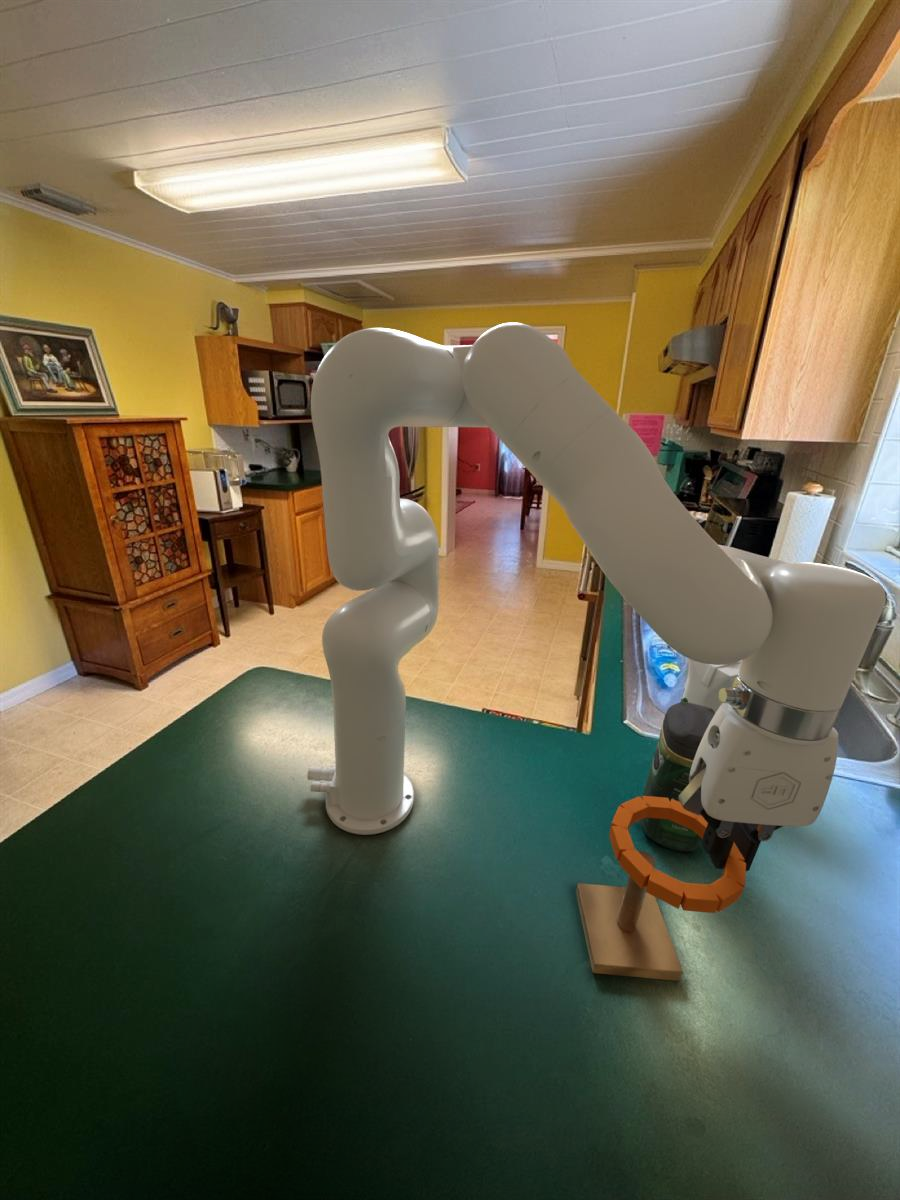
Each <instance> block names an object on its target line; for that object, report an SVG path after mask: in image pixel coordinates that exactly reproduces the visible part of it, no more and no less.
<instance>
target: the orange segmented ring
mask: <svg viewBox="0 0 900 1200" xmlns="http://www.w3.org/2000/svg"><path fill="white" fill-rule="evenodd" d="M616 809H617V810H616V812H615V814H614V817H613V819H612V821H611V825H610V829H609V832H608V833H609V836H608V837H609V841H610V844H611V847H612V850H613V853H614V856H615V860H616V862H618V865H619V866H620V867H621V868H622V869H623V870H624V872H625V873H626V874H627V875H628V877H629V876H630V877H631V878H632V879H633V880H634V881H635V882H636V883H637V884H638V885H639V887H640V888H641V889H642V888H644V887H646V886H647V887H646V892H647V893H649V894H651V895H653V896H654V897H655V898H656V899H658V900H660V901H661V902H664V903H666V904H667V905H670V906H671V907H674V908H675V909H677V910H679V909H680V906H681V909H682V911H685V912H697V913H709V914H716V912H718V913H721V912H722V911H724V910H725V909H726V908H728V907H730V906H732V905H733V904H734V903H736V902H737V901H740V900H739V899H740V898H741V896H742V894H743V892H744V889H745V886H746V875H747V871H746V863H745V862H744V860H745V859H744V858H743V856H742V854H741V853H740V851H739V849H738V848H737V846H736V844H735V843H733V846H732V849H731V851H730V854H729V857H728V858H727V861H726V863H725V866H724V868H723V869H722V876H721V877H720V878H718V879H716V880H714V881H713V882H711V883H710V884H706V883H694V882H693V883H692V882H683V881H681V880H679V879H677V878H674V877H672V876H670V875H668V874H666V873H664V872H663V871H661V870H659V869H657V868H655V867H653V866H652V865H651V864H650V863H649V862H648V861H647V860H646V859H645V858H644V857H643V856H642V855H641V854H640V853H639V852H638V851H639V850H637V849H636V848H635V845H634V842H633V840H632V836H631V834H630V832H629V830H630V827H631V825H633V824H635V823H636V822H639V821H641V819H644V818H646V817H647V818H659V819H669V820H671V821H673V822H676V823H678V824H680V825H682V826H685V827H687V828H689V829H692V830H693V831H694V832H695V833H696V834H698V835H699V836H700V837H701V840H702V839H703V836H704V833H705V830H706V827H707V824H708V823H707V821H706V820H705V819H704V818H703V816H700V815H696V814H694V813H691V812H689V811H686V810H684V808H683V807H682V805H681V803H680V802H678V801H676V800H673V799H671V802H670V801H669V799H668V798H665V797H652V796H643V795H642V796H639V795H638V796H636V797H634V798H632V799H629V800H626V801H625V802H622V803H621V804H620V805H618V807H617V808H616Z"/></svg>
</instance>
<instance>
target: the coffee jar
mask: <svg viewBox="0 0 900 1200" xmlns="http://www.w3.org/2000/svg"><path fill="white" fill-rule="evenodd" d="M714 715H715V712H714V711H713V709H712V708H709V707H705V706H702V705H697V704H693V703H688V702H683V701H682V702H681V701H679V702H677V703H674V704H672V705H671V706H669V707H668V708H667V710H666V712H665V714H664V718H663V720H662V723H661V729H660V732H659V738H658V742H657V745H656V748H655V749H656V750H655V752H654V756H653V759H652V761H651V762H652V763H651V766H650V769H649V773H648V776H647V780H646V783H645V786H644V788H643V793H642V796H652V797H665V798H668V799H669V801H670V802H671V799H673V800H676V801H678V802H680V801H679V799H678V796H679V795H680V794H681V792H682V791H683V790H684V789H685V788H686V787H687V785H688V784H689V775H690V771H691V767H692V763H693V760H694V758H695V755H696V752H697V750H698V747H699V745H700V742H701V740H702V738H703V736H704V733H705V731H706V729H707V728H708V726H709V724H710V722H711V720H712V718H713V717H714ZM640 823H641V827H642V830H643V832H644V834H645V835H646V836H647V837H648V838H649V839H651V840H652V841H653V842H655V843H657V844H658V845H660V846H663V847H665V848H667V849H670V850H674V851H678V852H693V851H695V850H696V849H698V848H699V846H700V844H701V842H702V838H701V837H700V836H699V835H698V834H696V833H695V832H694V831H693V830H692V829H689V828H687V827H685V826H682V825H680V824H678V823H676V822H673V821H671V820H669V819H659V818H647V817H646V818H644V819H641V820H640Z"/></svg>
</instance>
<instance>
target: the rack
mask: <svg viewBox="0 0 900 1200" xmlns="http://www.w3.org/2000/svg"><path fill="white" fill-rule="evenodd" d="M637 851H638V852H639V853H640V854H641V855H642V856H643V857H644V858H645V859H646V860H647V861H648V862H649V863H650V864H651V865H652V866H653V867H654V868H655V865H656V860H655V858H654V857H653V855H652V854H651V853H649V852H647V851H645V850H637ZM646 887H647V886H646ZM646 887H644V888H642V889H641V888H640V887H639V885H638V884H637V883H636V882H635V881H634V880H633V879H632V878H631V877H630V876H629V875H628V877H627V881H626V886H615V885H603V884H591V883H581V882H580V883H579V882H577V884H576V887H575V888H576V889H575V896H576V900H577V906H578V910H579V915H580V920H581V924H582V928H583V929H582V930H583V933H584V937H585V943H586V944H585V945H586V947H587V948H586V949H587V952H588V957H589V963H590V969H591V972H592V973H593V974H600V975H610V976H611V975H612V976H622V977H633V978H643V979H653V980H664V981H665V980H667V981H675V982H679V981H680V980H681V978H682V977H683V974H684V971H683V968H682V965H681V963H680V960H679V958H678V955H677V953H676V950H675V947H674V944H673V942H672V939H671V936H670V934H669V930H668V927H667V925H666V922H665V920H664V917H663V914H662V911H661V910H660V906H659V904H658V901H657V898H656V897H654V896H653V895H651V894H649V893H647V892H646Z"/></svg>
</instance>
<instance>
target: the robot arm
mask: <svg viewBox="0 0 900 1200" xmlns="http://www.w3.org/2000/svg"><path fill="white" fill-rule="evenodd" d="M310 413H311V422H312V427H313V433H314V434H313V435H314V438H315V443H316V447H317V454H318V459H319V466H320V476H321V495H322V503H323V504H322V507H323V517H324V518H323V520H324V530H325V541H326V542H325V543H326V554H327V561H328V565H329V568H330V571H331V573H332V576H333V577H334V580H335V581H336V582H338V584H340V585H341V586H342V587H343V588H345V589H348V590H351V591H356V592H362V591H366V592H364V593H362V594H360V595H358V596H357V597H354V598H352V599H351V600H349V601H347V602H346V603H344V604H342V605H341V606H340V607H338V608H337V609H336V610H334V612H333V613H332V614H330V616H329V617H328V619H327V620H326V622H325V624H324V626H323V628H322V629H323V630H322V633H321V646H322V650H323V655H324V658H325V662H326V666H327V669H328V673H329V680H330V687H331V697H332V715H333V731H334V732H333V734H334V735H333V736H334V737H333V738H334V761H335V763H334V765H332V766H330V768H329V767H323V766H316V765H315V766H313V765H311V766H309V768H308V770H307V775H306V776H307V780H308V781H312V782H311V784H310V792H313V793H314V792H315V793H325V794H326V795H325V810H326V814H327V816H328V817H329V819H330V820H331V821H332V823H333V824H334V825H335V826H337V827H338V828H339V829H341V830H343V831H345V832H347V833H351V834H355V835H362V836H363V835H364V836H367V835H368V836H369V835H376V834H380V833H384V832H387V831H389V830H391V829H392V830H393V828H395V827H397V826H399V825H400V824H401V823H402V822H403V821H404V820H406V818H407V817H408V815H409V814H410V813H411V811H412V809H413V806H414V801H415V791H414V786H413V783H412V781H411V779H409V777H408V776H407V775H406V774H405V745H406V743H405V741H406V714H407V713H406V710H407V709H406V708H407V706H406V705H407V704H406V703H407V696H406V689H405V684H404V682H403V680H402V678H401V675H400V672H399V665H400V663H401V660H402V659H403V657H405V656H406V655H407V654H408V653H409V652H410V651H411V650H412V649H414V648H415V647H416V646H417V645H418V644H419V643H420V642H422V641H423V640H424V639H425V638H427V637H428V635H430V633H431V632H432V630H433V629H434V628H435V625H436V623H437V619H438V614H439V605H440V604H439V601H440V599H439V597H440V593H439V592H440V591H439V589H440V587H439V586H440V585H439V584H440V583H439V582H440V581H439V580H440V578H439V574H440V571H439V570H440V569H439V568H440V565H439V563H440V561H439V560H440V558H439V557H440V555H439V554H440V551H439V550H440V549H439V547H440V546H439V536H438V531H437V529H436V524H435V523H434V521H433V519H432V516H431V515H430V514H429V512H428V511H427V510H426V509H425V508H424V507H423V505H421V504H419V503H417V502H416V501H414V500H411V499H408V498H402V497H401V494H400V493H401V491H400V481H401V480H400V479H401V477H400V468H399V461H398V458H397V456H396V452H395V449H394V447H393V444H392V442H391V440H390V437H389V433H390V431H391V430H392V429H394V428H400V427H404V428H405V427H407V428H408V427H409V428H489V429H490V430H491V431H492V432H493V434H494V435H495V436H496V437H497V438H498V439H499V440H500V442H502V443H503V445H505V447H506V449H508V450H509V451H510V452H511V454H513V455H514V456H515V458H516V459H517V460H518V461H519V462H520V463H521V464H522V465H523V466H524V468H525V469H526V470H527V471H528V472H529V473H530V474H531V475H532V476H533V477H534V478H535V479H536V480H537V481H538V483H539V484H540V485H541V486H542V487H543V488H544V490H545V491H546V492H547V493H548V494H549V495H550V496H551V497H552V498H553V499H554V501H556V503H557V504H558V505H559V506H560V507H561V508H562V510H563V512H564V513H565V515H566V517H567V519H568V521H569V523H570V524H571V527H572V528H573V529H574V531H575V532H576V534H577V535H578V537H579V538H580V540H581V542H583V544H584V545H585V547H586V549H587V550H588V552H589V553H590V555H591V556H592V558H593V560H594V561H595V562H596V564H597V565H598V567H599V568H600V570H601V571H602V573H603V574H604V575H605V577H606V578H607V579H608V581H609V582H610V583H611V585H612V586H613V587H614V589H616V591H617V592H618V593H619V594H620V595H621V597H622V598H623V600H625V601H626V603H628V604H629V606H630V607H631V608H632V609H633V610H634V611H635V612H636V613H637V614H638V616H640V618H641V619H642V620H643V622H644V623H646V624H647V625H648V626H649V627H650V628H651V629H652V631H653V632H654V633H655V634H656V635H657V636H658V637H659V638H660V639H661V640H662V641H663V642H664V643H665V644H666V645H667V646H669V647H670V648H671V649H672V650H673V651H675V652H677V653H678V654H680V655H681V656H683V657H685V658H687V659H688V660H689V659H691V660H693V661H697V662H700V663H704V664H712V665H724V664H731V663H735V662H738V661H741V660H742V662H741V665H740V668H739V672H738V675H737V677H735V680H734V684H733V687H729V688H721V689H720V691H719V700H720V702H721V703H722V704H721V706H720V707H719V709H718V710H717V712H716V713H715V715H714V717H713V718H712V720H711V722H710V724H709V726H708V728H707V729H706V731H705V733H704V736H703V738H702V740H701V742H700V745H699V747H698V750H697V752H696V755H695V758H694V760H693V763H692V767H691V771H690V775H689V784H688V785H687V787H686V788H685V789H684V790H683V791H682V792H681V794H680V795H679V796H678V799H679V801H680V803H681V805H682V807H683V808H684V810H686V811H689V812H691V813H694V814H696V815H700V816H703V818H704V819H705V820H706V821H707V823H708V824H707V827H706V830H705V833H704V836H703V839H702V838H701V845H702V848H703V850H704V852H705V853H706V854H707V855H708V857H709V858H710V860H711V862H712V864H713V866H714V868H715V869H718V870H723V868H724V866H725V863H726V861H727V858H728V857H729V854H730V851H731V849H732V846H733V843H735V844H736V846H737V848H738V849H739V851H740V853H741V854H742V856H743V858H744V859H745V860H744V862H745V863H746V872H749V871H750V869H751V867H752V864H753V862H754V861H755V860H754V859H755V857H756V855H757V853H758V849H759V847H760V845H761V843H762V842H767V841H769V840H770V839H771V838H772V837H773V834H774V832H775V831H777V830H778V829H779V830H780V828H783V827H793V828H794V827H795V828H797V827H800V828H801V827H807V826H812V824H814V823H815V822H816V821H817V819H818V817H819V815H820V813H821V811H822V809H823V807H824V804H825V802H826V799H827V796H828V794H829V791H830V786H831V784H832V781H833V777H834V774H835V773H834V772H835V769H836V765H837V759H838V753H839V752H838V751H839V732H838V731H837V729H836V728H835V727H834V726H835V723H836V721H837V719H838V716H839V714H840V711H841V709H842V706H843V704H844V701H845V700H846V698H847V695H848V692H849V691H850V688H851V685H852V683H853V681H854V678H855V676H856V674H857V671H858V669H859V666H860V665H861V662H862V660H863V658H864V655H865V653H866V651H867V648H868V645H869V644H870V641H871V639H872V636H873V634H874V632H875V630H876V629H875V628H876V627H877V625H878V622H879V620H880V617H881V616H882V613H883V610H884V607H885V604H886V597H887V596H886V591H885V589H884V587H883V585H882V584H881V583H880V582H878V580H877V579H874V578H872V577H871V576H869V575H867V574H864V573H862V572H858V571H855V570H852V569H848V568H844V567H841V566H835V565H830V564H826V563H825V564H824V563H817V562H808V561H807V562H805V561H803V562H801V561H797V562H789V561H785V560H780V559H777V558H772V557H768V556H764V555H762V554H761V555H760V554H757V553H753V552H750V551H746V550H743V549H739V548H736V547H733V546H728V545H724V544H723V545H722V544H718V543H717V542H716V541H715V540H714V539H713V538H712V537H711V535H709V533H708V532H707V531H706V530H705V528H703V527H702V526H701V524H700V523H699V522H698V521H697V520H696V519H695V518H694V516H693V515H692V514H691V513H690V511H689V510H688V509H687V507H686V506H684V504H683V503H682V502H681V500H680V499H679V498H678V497H677V495H676V494H675V493H674V491H673V490H672V488H671V487H670V486H669V484H668V483H667V481H666V480H665V478H664V476H663V475H662V472H661V471H660V469H659V467H658V465H657V462H656V460H655V459H654V456H653V454H652V453H651V451H650V449H649V448H648V446H647V445H646V443H645V442H644V441H643V440H642V438H641V437H640V436H639V434H638V433H637V432H636V431H635V430H634V428H632V427H631V426H630V425H629V424H628V423H627V422H626V421H625V420H624V419H623V418H622V417H621V415H619V413H618V412H617V411H616V410H615V409H614V408H613V407H611V406H610V404H609V403H608V402H607V401H606V400H605V399H604V398H603V397H602V396H601V395H600V393H598V391H597V390H595V388H594V387H593V386H592V384H590V383H589V382H588V380H586V378H584V377H583V375H582V373H580V372H579V370H577V368H575V366H574V365H573V363H572V361H571V359H570V357H569V354H568V353H567V352H566V351H565V349H564V347H562V346H561V345H560V344H559V343H558V342H557V341H554V340H553V339H552V338H551V337H549V336H548V335H546V334H545V333H543V332H542V331H540V330H539V329H537V328H535V327H534V326H532V325H529V324H525V323H521V322H505V323H501V324H498V325H496V326H493V327H491V328H489V329H488V330H486V331H485V332H483V333H482V334H481V335H480V336H479V337H478V338H477V339H476V340H475V342H473V344H469V345H468V344H467V345H466V344H463V345H443V344H439V343H436V342H433V341H430V340H427V339H425V338H422V337H419V336H417V335H414V334H411V333H409V332H405V331H401V330H398V329H393V328H387V327H386V328H385V327H367V328H363V329H359V330H356V331H353V332H351V333H348V334H347V335H345V336H343V337H342V338H340V339H339V340H338V341H336V342H335V343H334V344H333V345H332V346H331V347H330V348H329V349H328V351H327V352H326V353H325V355H324V356H323V357H322V359H321V361H320V363H319V365H318V367H317V369H316V372H315V375H314V377H313V382H312V385H311V393H310ZM322 781H323V782H322ZM324 781H325V782H324Z"/></svg>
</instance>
